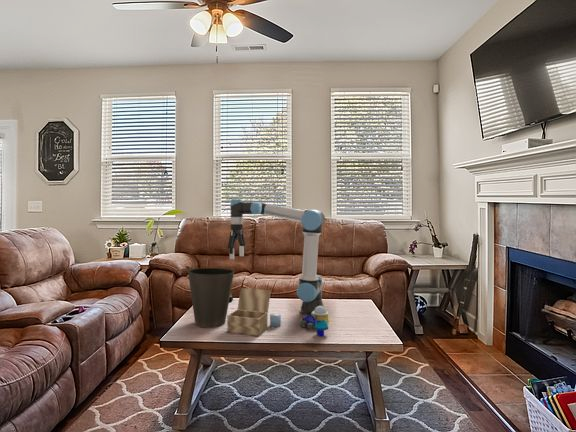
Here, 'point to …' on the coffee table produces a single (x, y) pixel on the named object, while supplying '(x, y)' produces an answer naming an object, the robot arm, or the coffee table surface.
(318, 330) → the toy
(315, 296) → the robot arm
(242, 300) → the lid
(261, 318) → the box
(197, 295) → the waste basket
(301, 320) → the toy
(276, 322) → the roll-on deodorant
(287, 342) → the coffee table surface
